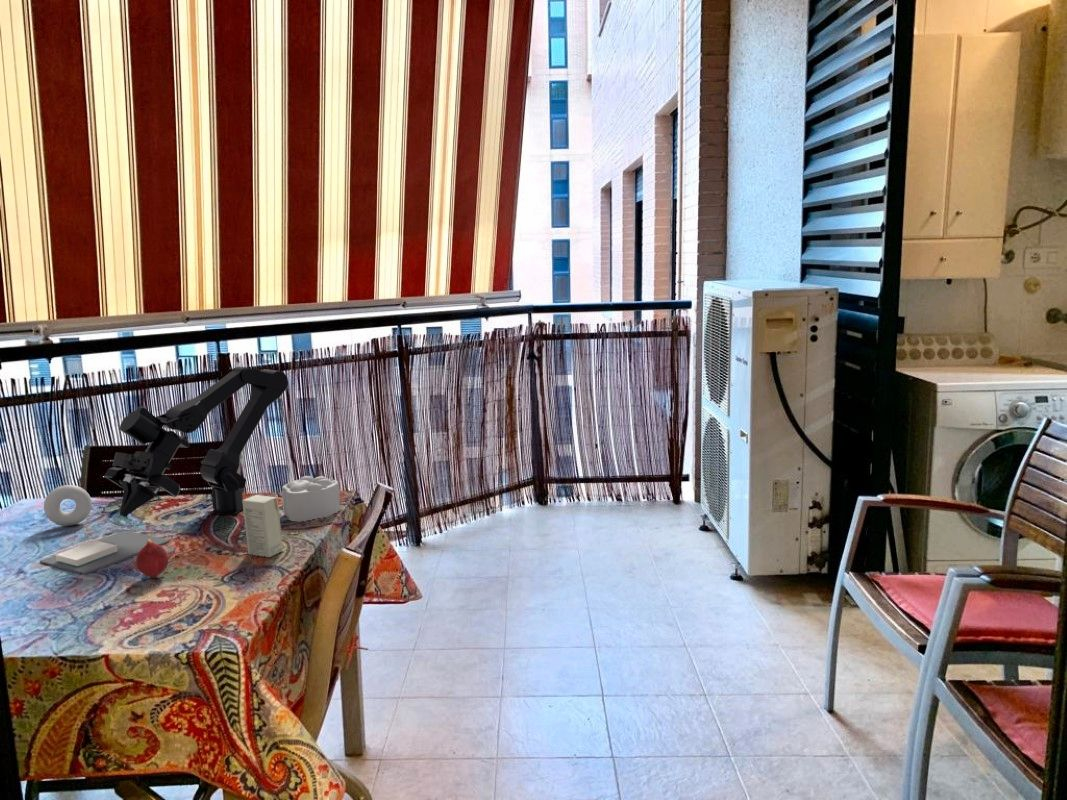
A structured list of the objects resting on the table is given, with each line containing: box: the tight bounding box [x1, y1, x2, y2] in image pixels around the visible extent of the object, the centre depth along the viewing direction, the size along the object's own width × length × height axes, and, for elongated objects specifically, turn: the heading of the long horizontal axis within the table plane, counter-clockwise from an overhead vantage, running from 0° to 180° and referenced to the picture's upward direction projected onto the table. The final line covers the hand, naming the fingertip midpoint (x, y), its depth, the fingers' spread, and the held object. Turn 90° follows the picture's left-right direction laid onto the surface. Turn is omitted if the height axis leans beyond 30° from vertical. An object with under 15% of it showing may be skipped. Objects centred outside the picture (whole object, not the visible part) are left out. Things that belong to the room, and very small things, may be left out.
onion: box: [135, 539, 170, 579], centre depth 157 cm, size 6×6×8 cm
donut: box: [43, 484, 93, 527], centre depth 189 cm, size 10×4×10 cm, turn 117°
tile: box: [55, 540, 117, 567], centre depth 168 cm, size 2×7×9 cm
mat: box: [39, 530, 170, 575], centre depth 172 cm, size 20×15×1 cm
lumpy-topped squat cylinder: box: [281, 475, 341, 522], centre depth 195 cm, size 10×13×9 cm
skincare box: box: [242, 494, 284, 558], centre depth 169 cm, size 6×4×12 cm
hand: (122, 515), depth 175 cm, fingers closed
